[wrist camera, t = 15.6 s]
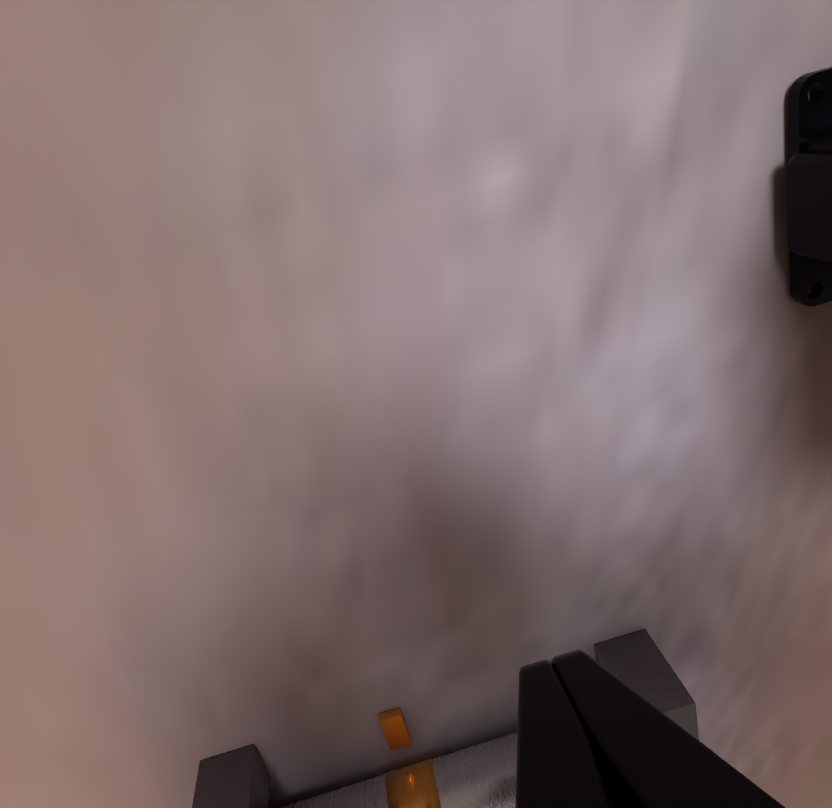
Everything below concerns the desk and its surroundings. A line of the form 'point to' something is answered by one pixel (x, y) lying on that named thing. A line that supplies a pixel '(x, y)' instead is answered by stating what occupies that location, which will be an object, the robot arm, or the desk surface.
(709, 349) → the desk surface
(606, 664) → the collar stand
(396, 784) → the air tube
